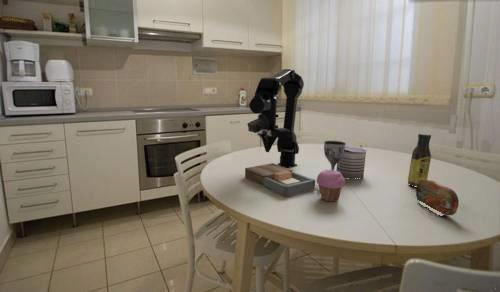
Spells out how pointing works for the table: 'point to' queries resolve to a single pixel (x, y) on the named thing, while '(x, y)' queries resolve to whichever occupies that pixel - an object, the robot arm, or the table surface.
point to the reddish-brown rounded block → (437, 197)
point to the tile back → (282, 175)
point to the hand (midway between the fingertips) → (267, 152)
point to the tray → (293, 189)
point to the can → (352, 162)
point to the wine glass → (334, 151)
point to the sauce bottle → (420, 160)
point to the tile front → (289, 181)
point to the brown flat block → (263, 172)
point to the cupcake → (330, 184)
